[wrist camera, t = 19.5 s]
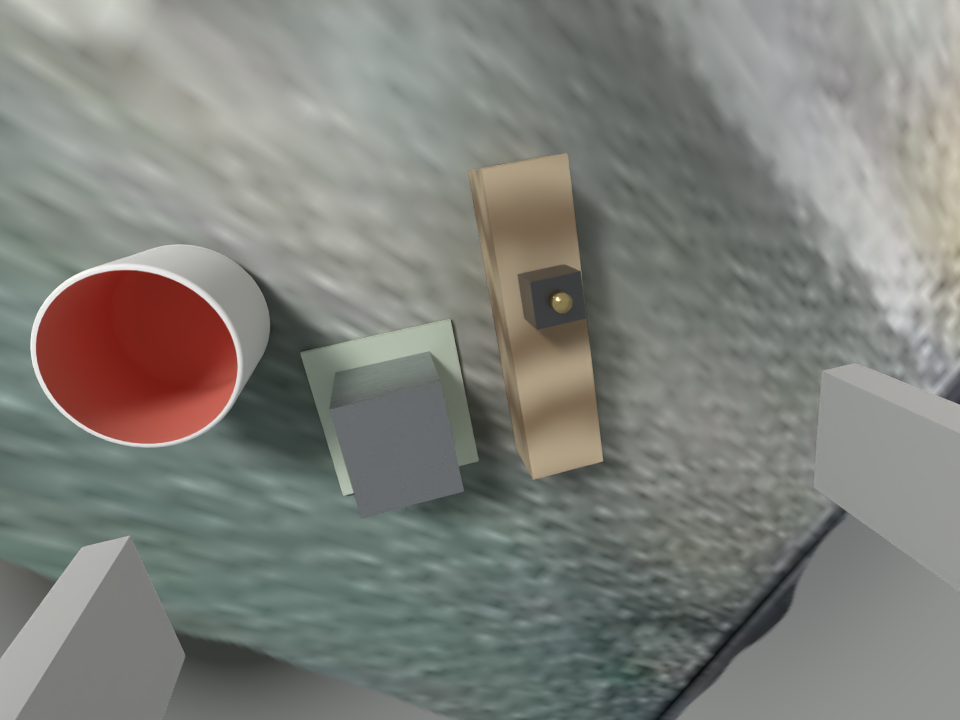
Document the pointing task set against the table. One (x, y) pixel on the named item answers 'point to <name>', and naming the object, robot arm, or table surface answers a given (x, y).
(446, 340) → the mat
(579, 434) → the long wooden block
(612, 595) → the table surface
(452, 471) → the gray cube on plate
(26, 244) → the table surface
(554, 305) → the latch
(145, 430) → the cup
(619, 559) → the table surface
